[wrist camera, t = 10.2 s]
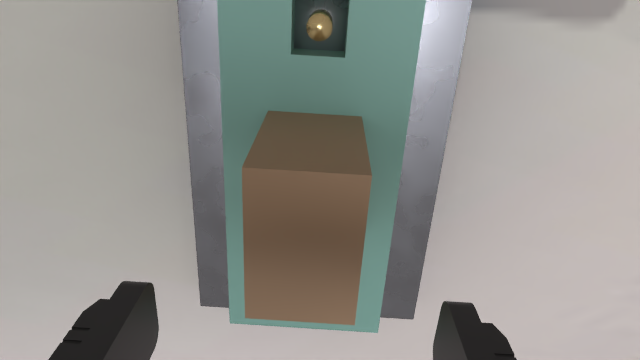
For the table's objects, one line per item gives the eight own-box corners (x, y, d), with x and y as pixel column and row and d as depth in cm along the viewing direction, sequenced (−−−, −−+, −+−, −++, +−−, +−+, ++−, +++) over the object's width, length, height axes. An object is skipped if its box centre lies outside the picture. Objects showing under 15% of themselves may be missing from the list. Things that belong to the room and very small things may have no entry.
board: (224, -49, 18) (157, -57, 11) (424, -37, 18) (477, -38, 11) (235, 304, 26) (199, 425, 19) (375, 313, 26) (389, 437, 19)
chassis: (206, 291, 31) (176, 366, 25) (178, -124, 21) (116, -159, 15) (409, 303, 31) (427, 382, 25) (482, -107, 21) (540, -135, 15)
